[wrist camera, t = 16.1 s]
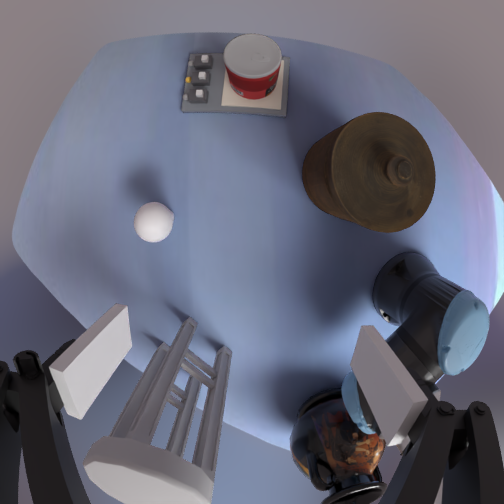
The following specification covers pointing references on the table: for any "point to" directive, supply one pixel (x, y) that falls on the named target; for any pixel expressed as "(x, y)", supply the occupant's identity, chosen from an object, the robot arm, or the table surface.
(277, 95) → the breaker board
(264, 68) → the canned food
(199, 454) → the stool
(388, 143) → the wooden container
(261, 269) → the table surface
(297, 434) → the amphora vase
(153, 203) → the lightbulb
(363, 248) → the table surface
